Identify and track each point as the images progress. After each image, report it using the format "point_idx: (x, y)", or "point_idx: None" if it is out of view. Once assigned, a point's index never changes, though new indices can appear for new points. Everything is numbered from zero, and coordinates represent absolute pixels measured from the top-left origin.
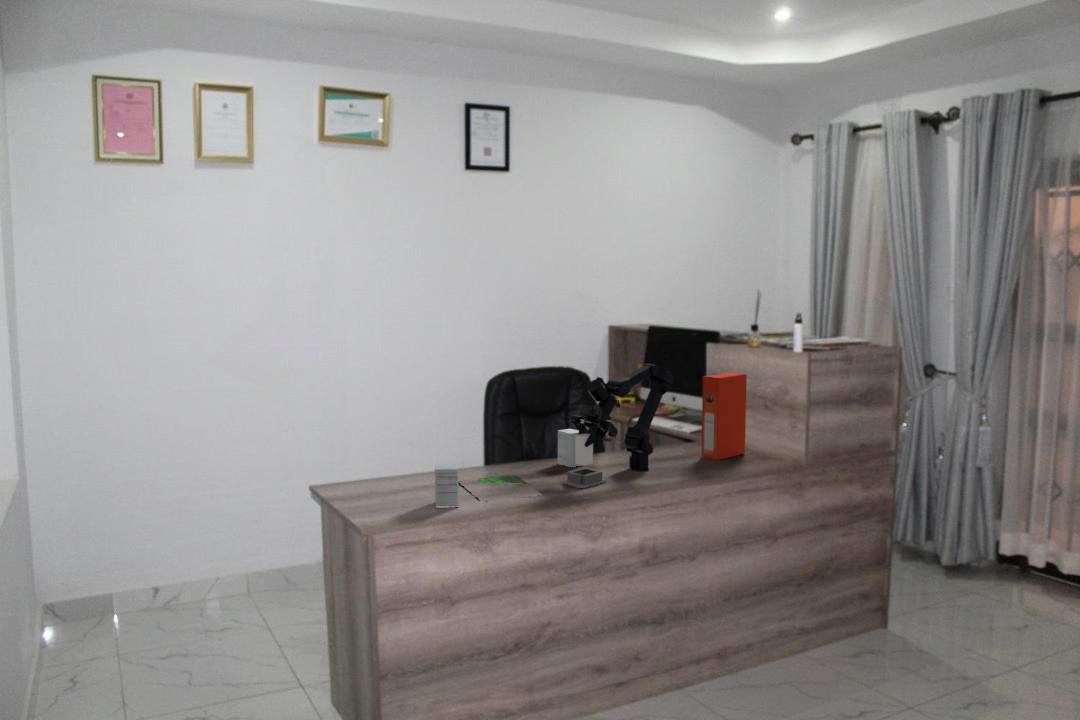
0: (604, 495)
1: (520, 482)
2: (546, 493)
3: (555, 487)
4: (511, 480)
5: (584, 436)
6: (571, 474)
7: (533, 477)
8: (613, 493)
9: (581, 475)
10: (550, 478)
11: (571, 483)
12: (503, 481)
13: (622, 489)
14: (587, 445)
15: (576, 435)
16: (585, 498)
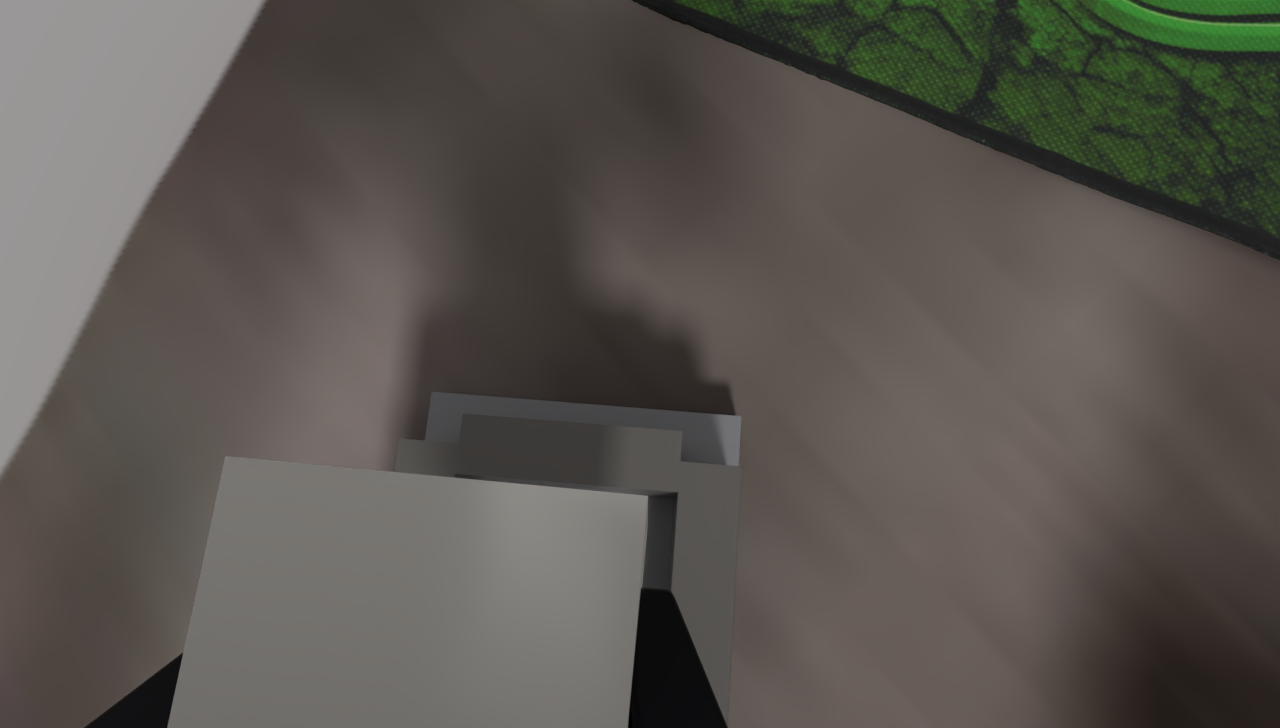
0: (101, 356)
1: (1083, 126)
2: (614, 40)
3: (697, 252)
4: (1202, 108)
5: (219, 587)
6: (634, 429)
7: (1184, 402)
8: (56, 484)
9: (460, 433)
10: (1014, 503)
11: (603, 405)
12: (1227, 36)
13: (47, 699)
14: None
15: (613, 521)
16: (207, 151)
